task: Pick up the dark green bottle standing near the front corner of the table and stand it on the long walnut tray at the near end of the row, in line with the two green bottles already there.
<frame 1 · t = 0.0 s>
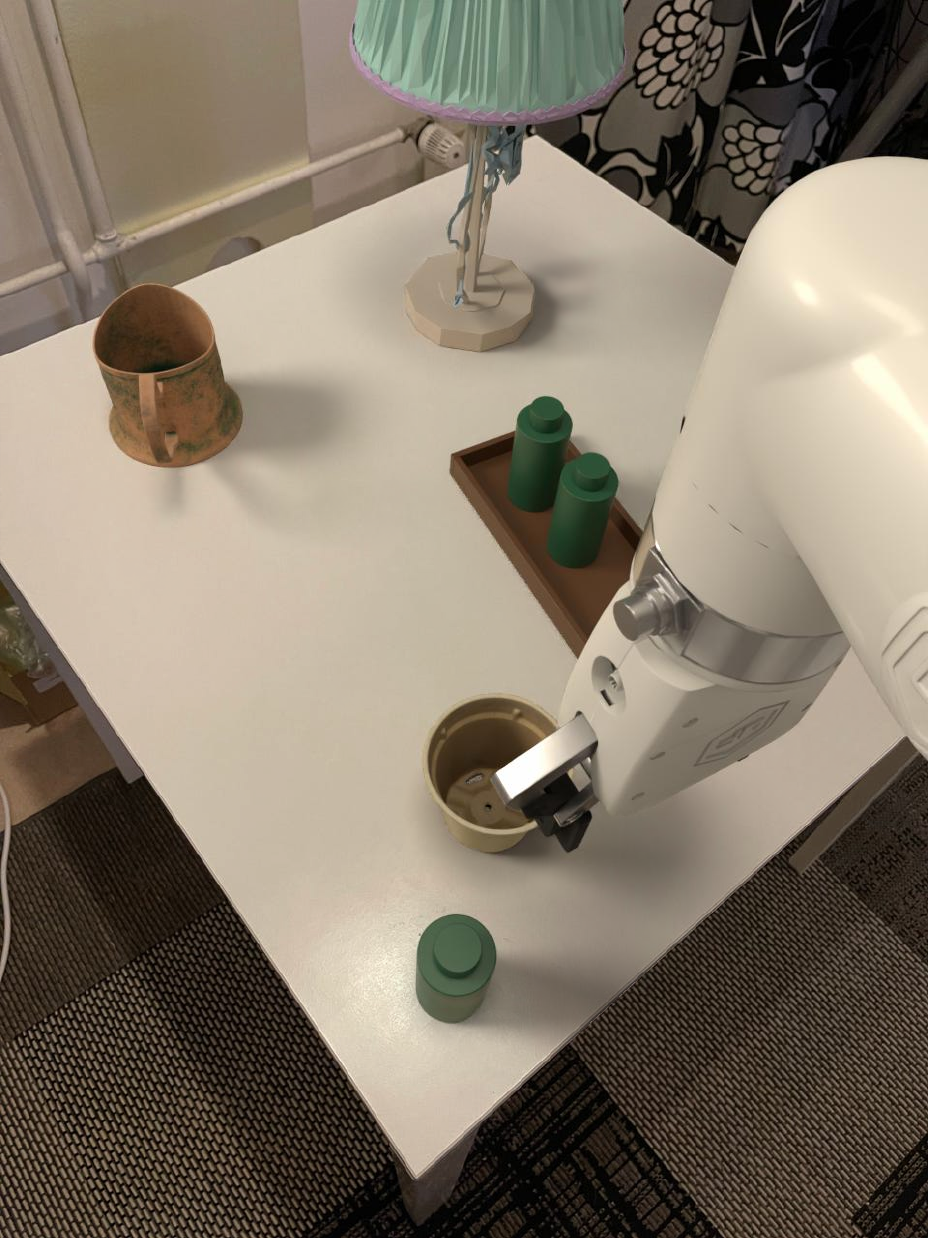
hand: (640, 777, 44), 20 cm above the table, tool pointing down, fingers open, 9 cm apart
flower pot: (488, 812, 64), on the table
bottle: (450, 985, 58), on the table
bottle far: (532, 492, 79), point 1 cm above the table, touching tray
table lamp: (469, 309, 93), on the table
flask: (775, 441, 85), on the table
tray: (574, 555, 76), on the table
bottle mid: (572, 547, 76), point 1 cm above the table, touching tray
mug: (178, 444, 81), on the table
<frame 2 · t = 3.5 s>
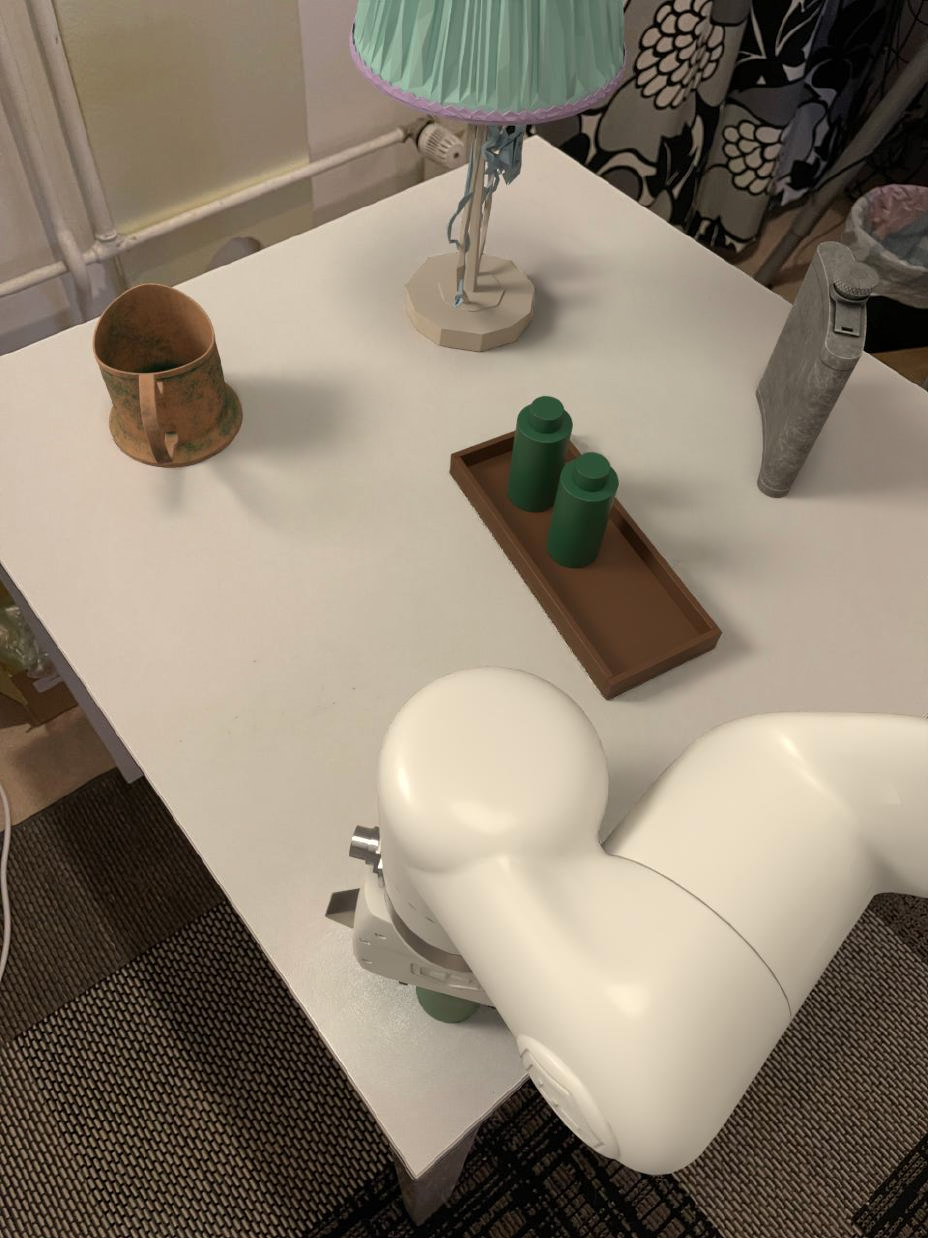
hand: (453, 969, 54), 5 cm above the table, tool pointing down, fingers closed on bottle, 4 cm apart
bottle: (450, 985, 58), on the table, touching gripper
everything else where it was.
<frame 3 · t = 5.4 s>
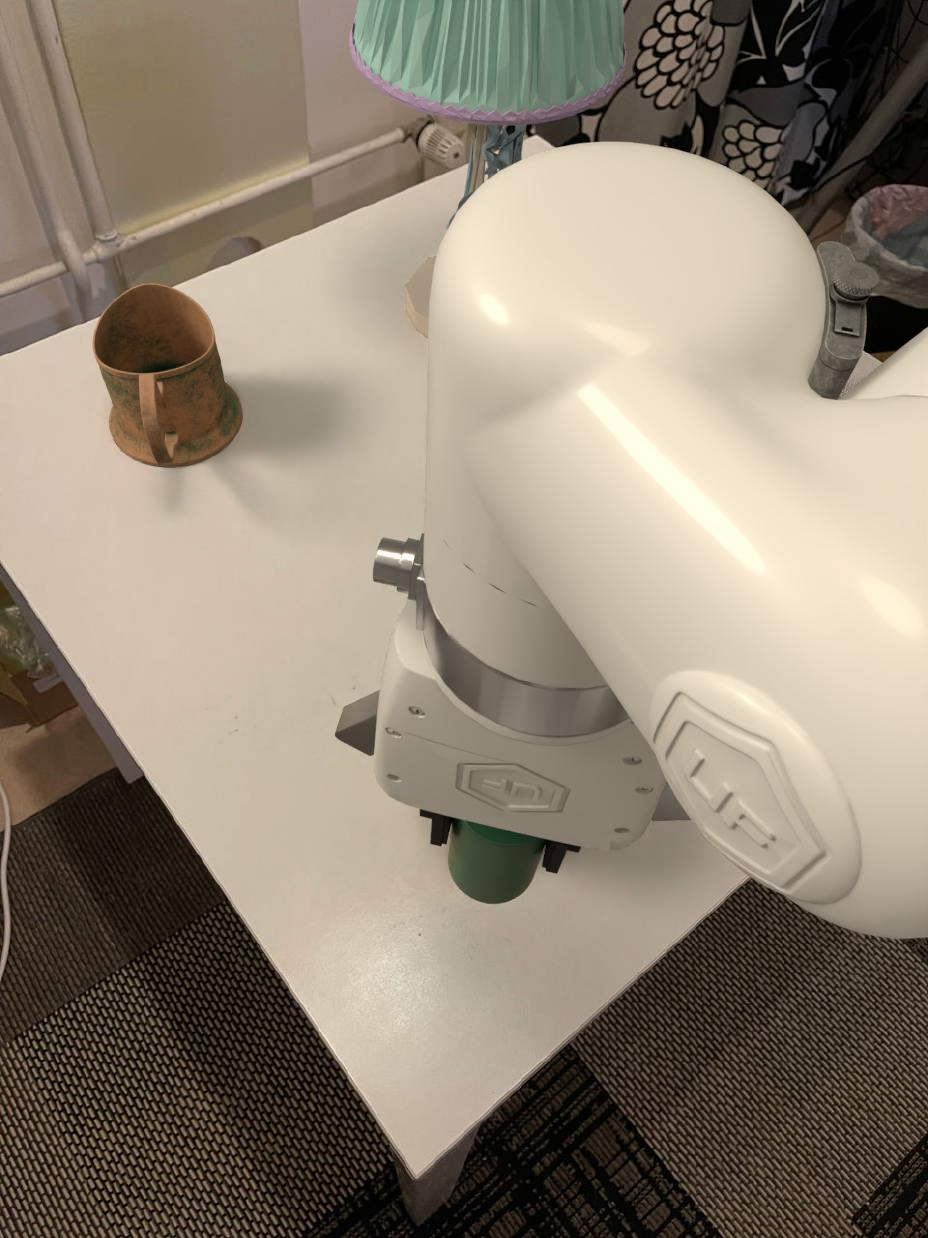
hand: (500, 826, 42), 21 cm above the table, tool pointing down, fingers closed on bottle, 4 cm apart
bottle: (492, 860, 46), point 16 cm above the table, touching gripper
everything else where it was.
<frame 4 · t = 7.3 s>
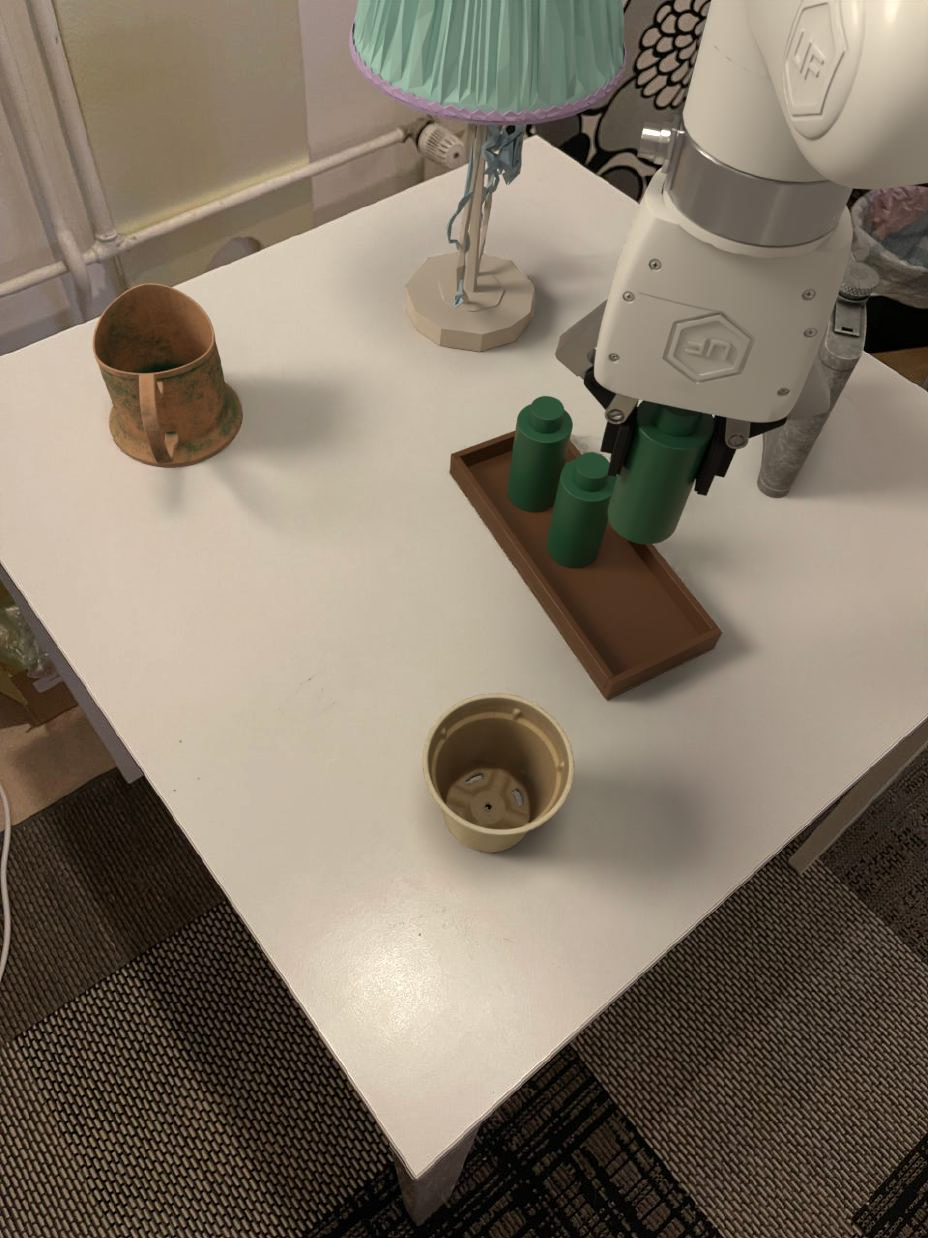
hand: (659, 465, 54), 21 cm above the table, tool pointing down, fingers closed on bottle, 4 cm apart
bottle: (642, 516, 58), point 17 cm above the table, touching gripper
everything else where it was.
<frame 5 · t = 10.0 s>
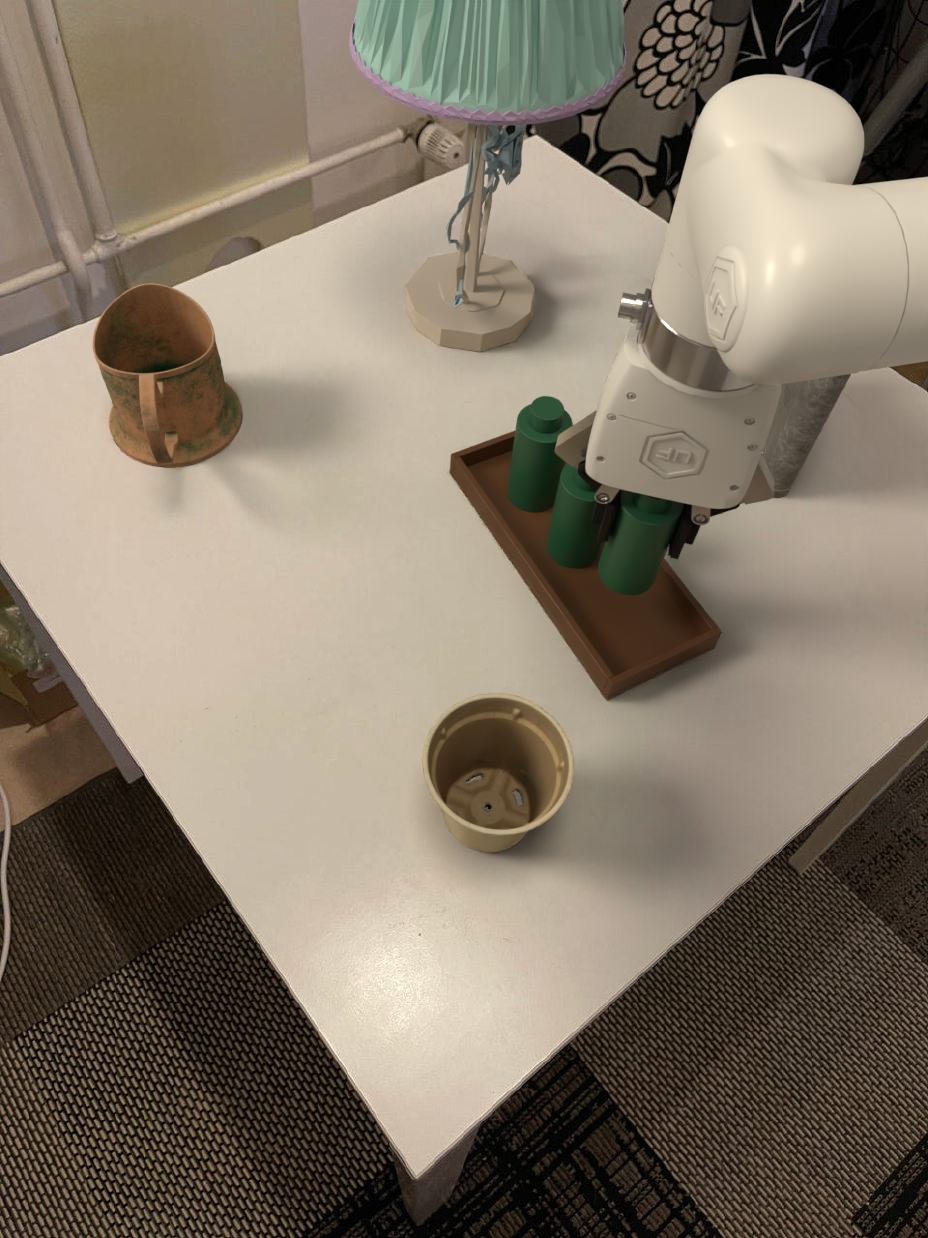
hand: (640, 533, 65), 10 cm above the table, tool pointing down, fingers closed on bottle, 4 cm apart
bottle: (626, 571, 69), point 5 cm above the table, touching gripper
everything else where it was.
when the fingers open (5 cm above the table, at t = 11.5 s): bottle stays where it is, resting on tray.
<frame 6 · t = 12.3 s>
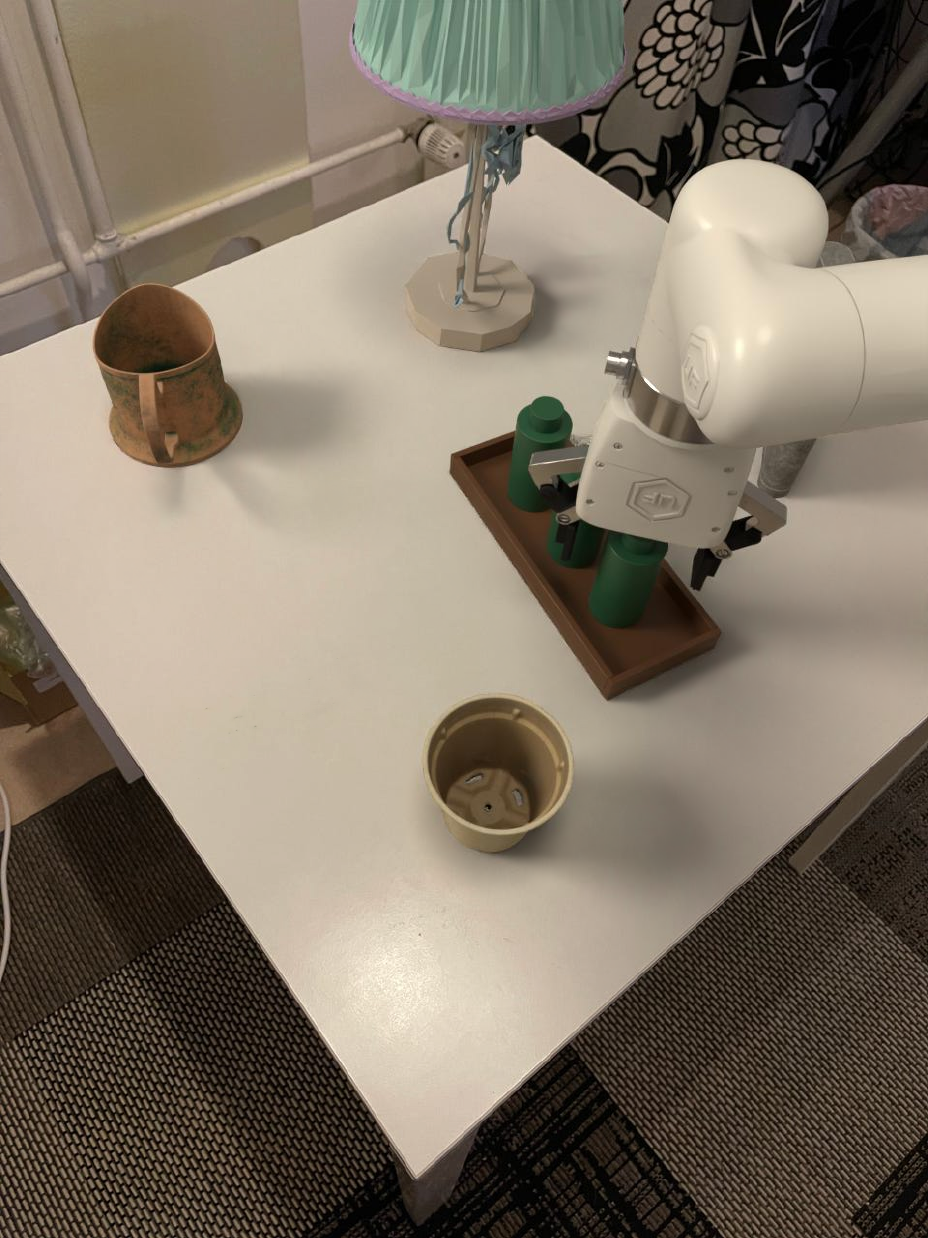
hand: (631, 560, 68), 7 cm above the table, tool pointing down, fingers open, 9 cm apart
bottle: (615, 605, 73), point 1 cm above the table, touching tray
everything else where it was.
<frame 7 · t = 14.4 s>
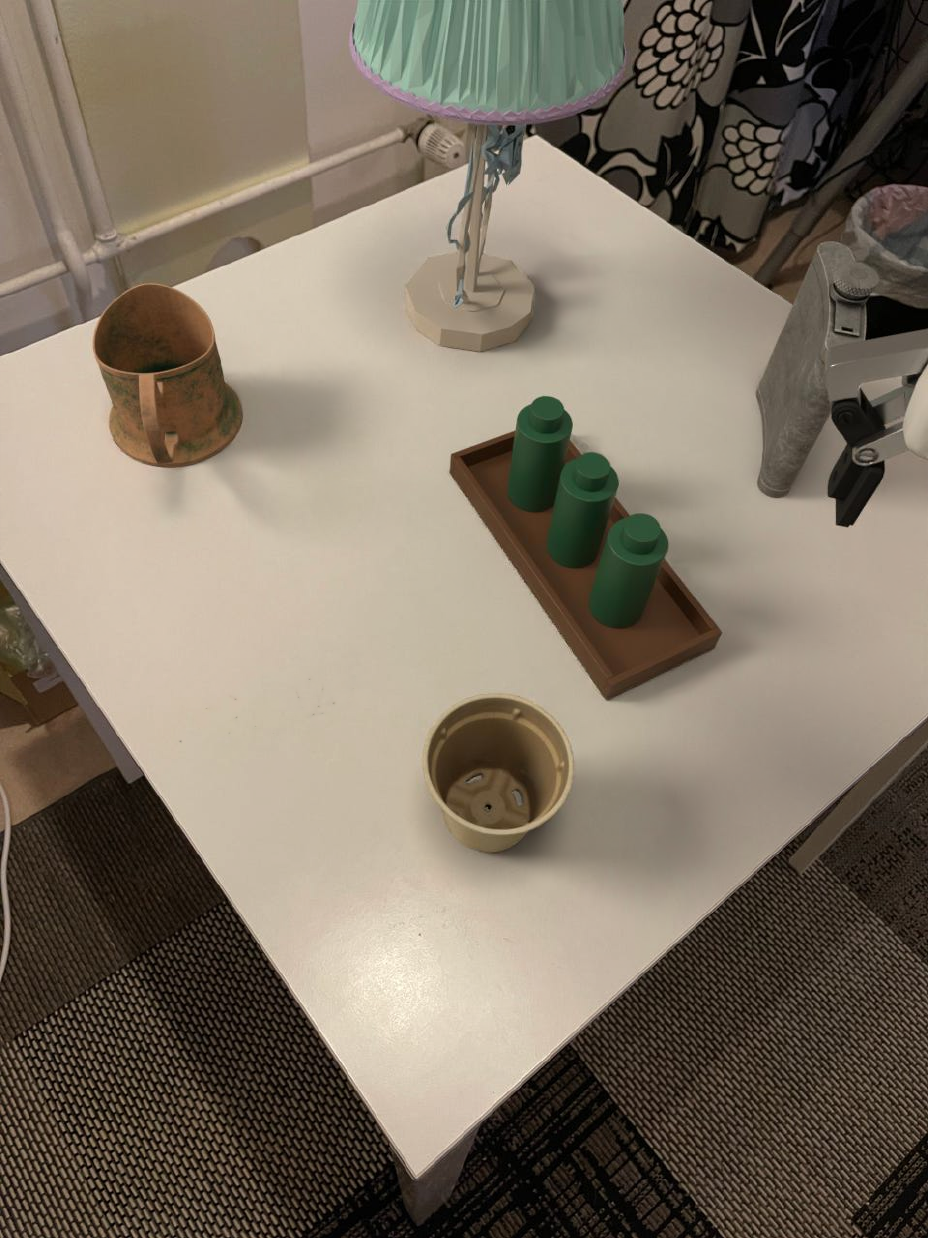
nothing on the table moved.
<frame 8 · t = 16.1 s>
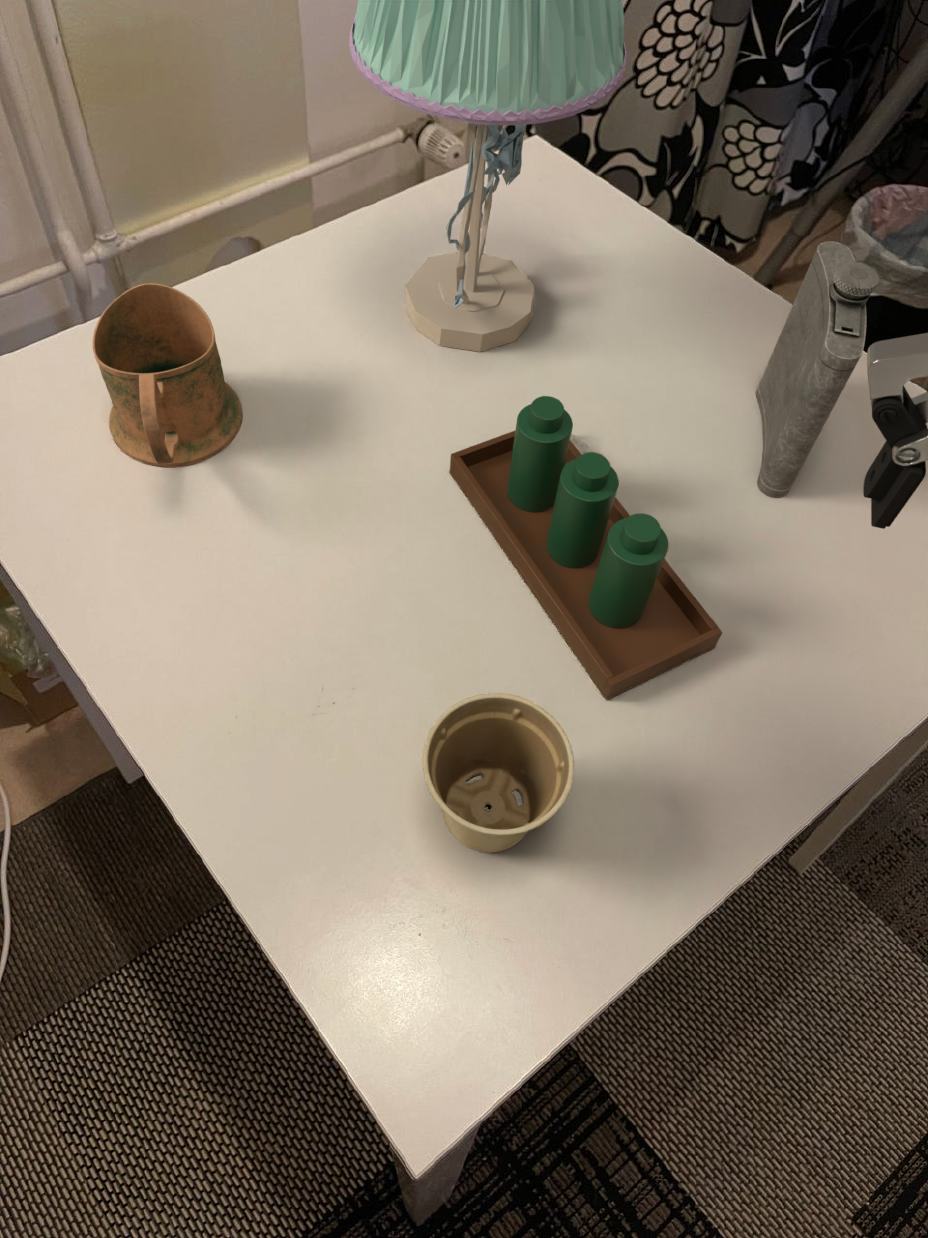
nothing on the table moved.
at the end: bottle 0.0 cm from the target spot in the tray, point 0.6 cm above the tray's base; bottle tilted 0°; bottle mid tilted 0° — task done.
